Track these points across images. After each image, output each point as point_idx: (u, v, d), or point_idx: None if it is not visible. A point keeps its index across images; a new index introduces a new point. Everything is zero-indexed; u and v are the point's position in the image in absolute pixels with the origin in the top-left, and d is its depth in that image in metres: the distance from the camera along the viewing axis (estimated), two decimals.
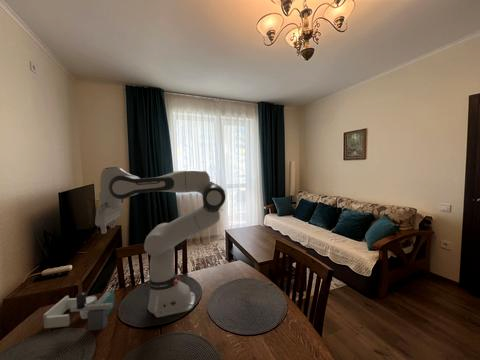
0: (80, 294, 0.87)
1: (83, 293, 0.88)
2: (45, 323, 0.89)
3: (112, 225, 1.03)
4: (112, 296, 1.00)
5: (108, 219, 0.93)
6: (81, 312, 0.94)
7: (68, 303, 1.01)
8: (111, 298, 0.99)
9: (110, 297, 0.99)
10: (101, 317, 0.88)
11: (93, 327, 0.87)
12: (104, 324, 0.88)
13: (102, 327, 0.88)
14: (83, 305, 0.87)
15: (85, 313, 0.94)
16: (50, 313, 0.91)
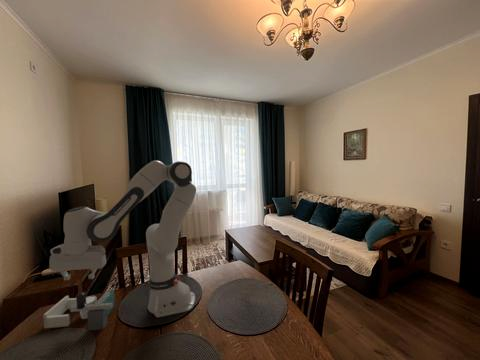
0: (80, 294, 0.87)
1: (83, 293, 0.88)
2: (45, 323, 0.89)
3: (69, 276, 0.87)
4: (112, 296, 1.00)
5: None
6: (81, 312, 0.94)
7: (68, 303, 1.01)
8: (111, 298, 0.99)
9: (110, 297, 0.99)
10: (101, 317, 0.88)
11: (93, 327, 0.87)
12: (104, 324, 0.88)
13: (102, 327, 0.88)
14: (83, 305, 0.87)
15: (85, 313, 0.94)
16: (50, 313, 0.91)
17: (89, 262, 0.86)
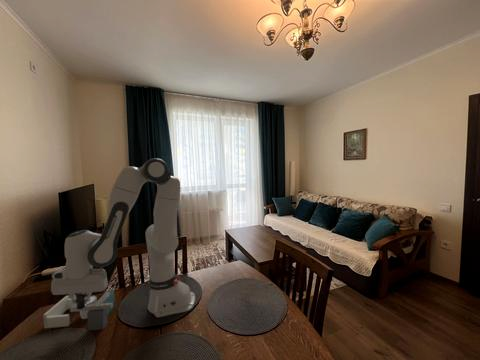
0: (80, 294, 0.87)
1: (83, 293, 0.88)
2: (45, 323, 0.89)
3: None
4: (112, 296, 1.00)
5: None
6: (81, 312, 0.94)
7: (68, 303, 1.01)
8: (111, 298, 0.99)
9: (110, 297, 0.99)
10: (101, 317, 0.88)
11: (93, 327, 0.87)
12: (104, 324, 0.88)
13: (102, 327, 0.88)
14: (83, 305, 0.87)
15: (85, 313, 0.94)
16: (50, 313, 0.91)
17: (91, 285, 0.86)
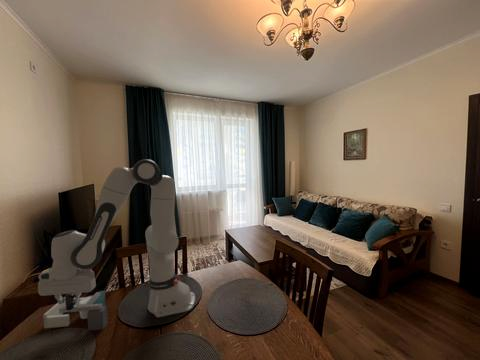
0: (69, 295, 0.87)
1: (72, 294, 0.88)
2: (45, 323, 0.89)
3: (63, 299, 0.87)
4: (102, 297, 1.00)
5: None
6: (81, 312, 0.94)
7: None
8: (101, 299, 0.99)
9: (100, 298, 0.98)
10: (101, 317, 0.88)
11: (93, 327, 0.87)
12: (104, 324, 0.88)
13: (102, 327, 0.88)
14: (72, 306, 0.87)
15: (85, 313, 0.94)
16: (50, 313, 0.91)
17: (78, 286, 0.86)
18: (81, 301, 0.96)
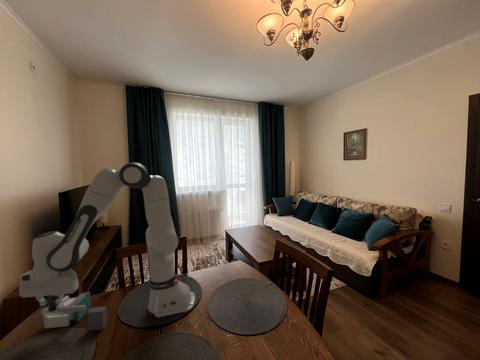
0: (52, 296, 0.86)
1: (55, 295, 0.87)
2: (45, 323, 0.89)
3: (45, 301, 0.87)
4: (87, 298, 0.99)
5: None
6: (65, 314, 0.93)
7: None
8: (86, 300, 0.98)
9: (85, 299, 0.97)
10: (101, 317, 0.88)
11: (93, 327, 0.87)
12: (104, 324, 0.88)
13: (102, 327, 0.88)
14: (55, 307, 0.86)
15: (69, 314, 0.93)
16: None
17: (60, 287, 0.85)
18: (65, 303, 0.95)
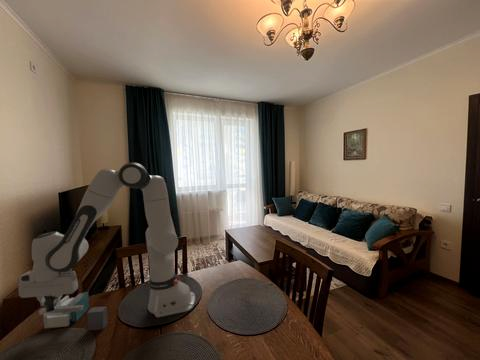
0: (49, 296, 0.86)
1: (53, 295, 0.87)
2: (45, 323, 0.89)
3: None
4: (85, 298, 0.99)
5: None
6: (63, 314, 0.93)
7: None
8: (84, 300, 0.98)
9: (83, 299, 0.97)
10: (101, 317, 0.88)
11: (93, 327, 0.87)
12: (104, 324, 0.88)
13: (102, 327, 0.88)
14: (52, 307, 0.86)
15: None
16: None
17: (60, 287, 0.85)
18: (62, 303, 0.94)
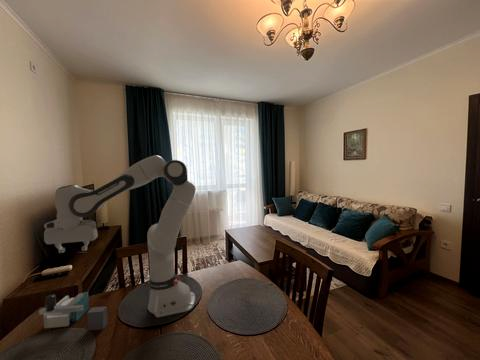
0: (49, 296, 0.86)
1: (53, 295, 0.87)
2: (45, 323, 0.89)
3: (63, 249, 0.94)
4: (85, 298, 0.99)
5: None
6: (63, 314, 0.93)
7: None
8: (84, 300, 0.98)
9: (83, 299, 0.97)
10: (101, 317, 0.88)
11: (93, 327, 0.87)
12: (104, 324, 0.88)
13: (102, 327, 0.88)
14: (52, 307, 0.86)
15: None
16: None
17: (82, 235, 0.93)
18: (62, 303, 0.94)
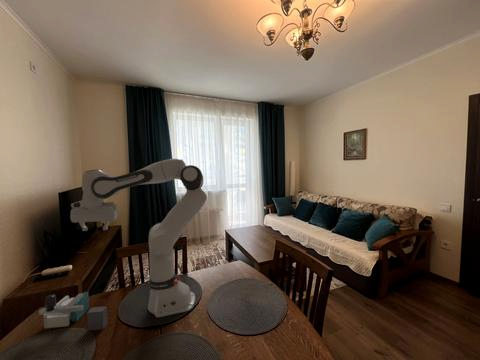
0: (49, 296, 0.86)
1: (53, 295, 0.87)
2: (45, 323, 0.89)
3: (86, 228, 1.04)
4: (85, 298, 0.99)
5: None
6: (63, 314, 0.93)
7: None
8: (84, 300, 0.98)
9: (83, 299, 0.97)
10: (101, 317, 0.88)
11: (93, 327, 0.87)
12: (104, 324, 0.88)
13: (102, 327, 0.88)
14: (52, 307, 0.86)
15: None
16: None
17: (104, 215, 1.02)
18: (62, 303, 0.94)
